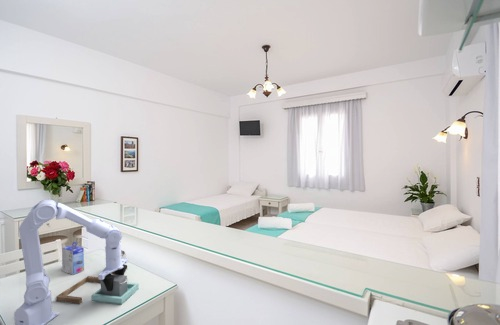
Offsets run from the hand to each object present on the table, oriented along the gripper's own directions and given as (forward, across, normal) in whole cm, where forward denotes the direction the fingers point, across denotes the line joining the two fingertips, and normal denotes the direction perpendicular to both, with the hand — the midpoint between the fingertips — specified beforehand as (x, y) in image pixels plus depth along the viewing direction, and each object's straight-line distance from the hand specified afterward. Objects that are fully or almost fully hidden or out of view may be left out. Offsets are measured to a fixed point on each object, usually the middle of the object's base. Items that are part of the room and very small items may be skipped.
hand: (114, 286), depth 98 cm
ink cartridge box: (+4, +14, +36) cm, 39 cm away
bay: (+4, 0, +15) cm, 15 cm away
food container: (+4, +17, +12) cm, 21 cm away
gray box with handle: (+3, 0, 0) cm, 3 cm away
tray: (+4, 0, 0) cm, 4 cm away
